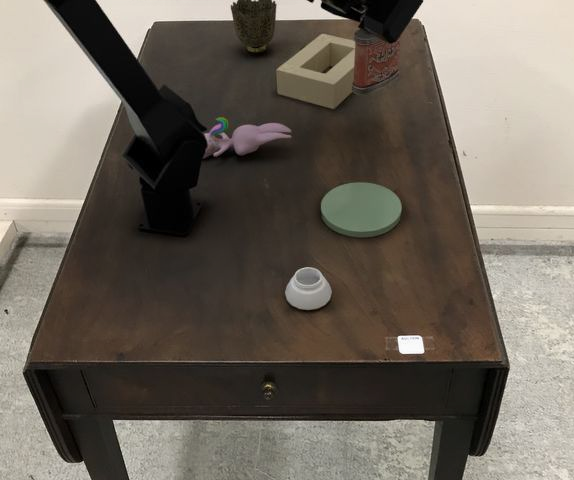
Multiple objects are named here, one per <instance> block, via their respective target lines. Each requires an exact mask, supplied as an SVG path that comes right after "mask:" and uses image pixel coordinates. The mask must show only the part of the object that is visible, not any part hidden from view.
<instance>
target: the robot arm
mask: <svg viewBox="0 0 574 480" xmlns="http://www.w3.org/2000/svg"><path fill="white" fill-rule="evenodd" d="M42 1H43V2H44V3H45V4H46V6H47V7H48V8H49V9H50V10H51V12H52V13H53V15H54V16H55V18H56V19H57V20H58V21H59V22H60V24H61V25H62V26H63V28H64V29H65V30H66V32H67V33H68V34H69V35H70V37H71V38H72V40H74V42H75V43H76V44H77V46H78V47H79V48H80V50H81V51H82V52H83V54H84V55H85V56H86V57H87V59H88V60H89V61H90V63H91V64H92V65H93V66H94V67H95V69H96V70H97V72H98V73H99V74H100V75H101V77H103V78H102V79H104V81H105V82H106V83H107V84H108V86H109V87H110V88H111V89H112V91H113V92H114V93H115V95H116V96H117V97H118V99H119V100H120V101H121V103H122V104H123V105H124V107H125V112H126V115H127V118H128V122H129V124H130V126H131V127H132V129H133V132H134V135H133V137H132V138H131V141H130V142H129V144H128V146H127V147H126V149H125V151H124V152H123V154H122V159H123V161H125V163H126V165H128V167H129V168H130V169H131V170H132V171H134V172H135V173H136V174H137V175H138V177H139V178H138V183H139V187H140V194H141V198H142V202H143V207H144V212H145V213H144V214H143V216H142V218H141V219H140V221H139V222H138V224H137V229H138V231H140V232H147V233H155V234H162V235H170V236H176V237H187V236H188V235H189V233H190V231H191V230H192V228H193V226H194V224H195V222H196V220H197V219H198V217H199V215H200V214H201V212H202V210H203V207H204V204H203V202H201V201H195V200H192V196H191V189H194V188H196V187H198V182H199V178H200V171H201V168H202V162H203V159H204V158H203V157H204V155H205V151H206V148H207V147H208V144H207V140H206V137H205V135H204V134H205V133H204V132H207V131H208V128H207V126H205V125H204V124H203V123H201V121H199V120H198V118H197V116H196V112H195V110H194V108H193V107H192V105H191V104H190V103H189V102H188V101H187V100H185V99H184V97H182V96H181V95H179V94H178V93H177V92H175V91H174V90H173V89H172V88H171V87H170V86H168V85H167V84H166V83H163V85H162V86H160V88H158V86H157V85H156V84H155V83H154V81H153V80H152V77H150V75H149V74H148V72H147V71H146V70H145V68H144V67H143V65H142V64H141V62H140V60H139V59H138V58H137V57H136V55H135V54H134V52H133V51H132V50H131V48H130V47H129V45H128V44H127V43H126V41H125V39H124V38H123V37H122V35H121V34H120V32H119V31H118V30H117V28H116V27H115V25H114V24H113V22H112V21H111V20H110V18H109V17H108V15H107V14H106V13H105V12H104V10H103V9H102V7H101V5H100V4H99V3H98V1H97V0H42ZM306 1H307V2H309V3H311V4H313V3H314V1H315V0H306ZM320 1H321V2H320V8H321V9H322V10H324V11H326V12H328V13H329V14H331V15H333V16H337V17H340V18H343V19H347V20H350V21H354V22H356V23H359V24H358V26H357V28H358V29H359V30H360V29H362V30H364V31H366V32H368V33H369V34H372V35H374V36H376V37H378V38H379V39H381V40H383V41H385V42H387V43H389V44H392V43H394V42H397V40H398V39H399V37H400V36H401V37H402V34H403V33H404V31H405V30H406V28H407V27H408V25H409V24H410V22H411V21H412V19H413V18H414V16H415V15H416V13H417V12H418V10H419V9H420V7H421V6H422V5H423V3H424V0H320ZM364 14H365V15H364ZM362 15H364V18H363V20H362V21H361V17H362ZM360 21H361V23H360ZM202 158H203V159H202Z"/></svg>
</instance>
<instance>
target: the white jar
mask: <svg viewBox="0 0 574 480" xmlns="http://www.w3.org/2000/svg"><path fill="white" fill-rule="evenodd" d="M332 293H333V291H332V287H331V285H330V283H329V282H328V280H327V278H326V277H325V276H324V275H323V274H322V272H321V271H320V269H317V268H314V267H310V266H307V267H303V268H299V269H297V270H296V272H295V273H294V275H293V276H292V277H291V279H290V280H289V282H288V283H287V285H286V288H285V291H284V295H285V298H286V301H287V302H288V303H289V304H290V305H291V306H292V307H295V308H297V309H299V310H305V311H306V310H307V311H310V310H317V309H320V308H322V307H324V306H326V305H327V304H328V302H329V301H330V300H331V297H332Z"/></svg>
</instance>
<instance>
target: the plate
mask: <svg viewBox="0 0 574 480" xmlns="http://www.w3.org/2000/svg"><path fill="white" fill-rule="evenodd" d="M402 205H403V204H402V202H401V199H400V197H398V195H397V194H396V193H395V192H394V191H392V190H391V189H389V188H387V187H385V186H383V185H380V184H377V183H373V182H365V181H364V182H362V181H361V182H358V181H357V182H347V183H344V184H341V185H338V186H336V187H333V188H332V189H330V190H329V191H328V192H327V193H326V194H325V195H324V196H323V198H322V199H321V202H320V216H321V219H322V221H323V222H324V224H325V225H326V226H327V227H328V228H329V229H331V230H332V231H333V232H335V233H338V234H340V235H343V236H347V237H351V238H371V237H372V238H373V237H378V236H381V235H384V234H386V233H388V232H390V231H391V230H393V229H394V228H395V227H396V226H397V225H398V224H399V222H400V220H401V218H402V209H403V206H402Z"/></svg>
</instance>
